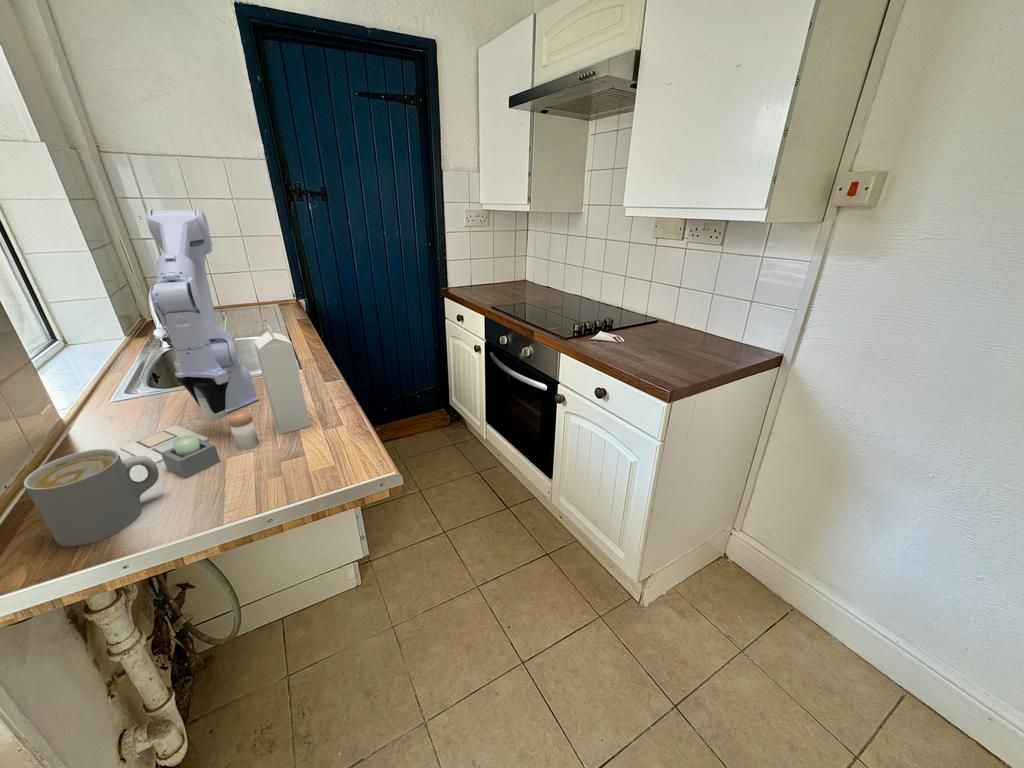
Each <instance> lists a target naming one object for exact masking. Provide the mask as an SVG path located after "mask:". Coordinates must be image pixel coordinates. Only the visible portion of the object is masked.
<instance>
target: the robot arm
mask: <svg viewBox="0 0 1024 768" xmlns="http://www.w3.org/2000/svg"><path fill="white" fill-rule="evenodd" d="M145 219H146V224H147V227H148V230H149V232H150V234H151V236H152V237H153V238H154V240H155V242H156V244H157V245H158V247H159V249H160V250H161V251H162V252H163V254H161V255H159V256H158V258H157V260H156V283H154V286H150V288H149V294H150V300H151V303H152V306H153V307H154V310H155V311H156V313H157V314H158V316H159V319H160V322H161V324H162V325H163V326H165V328H166V330H167V333H168V336H169V339H170V342H171V345H172V347H173V350H174V353H175V356H176V359H177V361H174V362H173V365H174V367H175V370H176V372H174V374H175V377H177V378H176V382H178V383H179V384H180V385H182V386H183V387H184V388H185V389H186V390H187V391H188V393H189V394H190V395H191V397H192V398H193V400H194V401H195V402H196V404H197V405H198V407H200V405H199V402H198V399H197V397H196V394H195V391H194V388H193V387H194V386H195V387H196V388H197V389H198V390H199V391H200V392H201V393H202V394H203V396H204V397H205V399H206V401H207V403H208V405H209V407H210V409H211V410H212V412H213V413H218V412H221V411H223V410H225V411H226V414H229V413H231V412H233V411H236V410H239V409H240V408H243V407H245V406H248V405H250V404H252V403H255V402H257V401H259V399H260V398H259V397H258V396H257V393H256V389H255V386H254V383H253V379H252V377H251V376H252V375H251V373H250V371H249V370H248V369H247V367H246V366H244V365H243V364H241V359H240V357H241V356H240V352H239V349H238V345H237V343H236V340H235V337H234V336H233V334H232V333H230V332H229V331H227V330H226V329H223V328H221V327H219V326H218V323H217V318H216V313H215V309H214V304H213V299H212V295H211V289H210V286H209V285H210V284H209V279H208V276H207V270H206V255H209V254H211V253H212V252H213V248H212V247H213V242H212V237H211V233H210V227H209V223H208V220H207V217H206V214H205V212H204V211H203V210H201V209H200V208H196V209H158V210H157V209H147V211H146V213H145Z"/></svg>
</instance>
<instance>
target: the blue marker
mask: <svg viewBox="0 0 1024 768" xmlns="http://www.w3.org/2000/svg"><path fill="white" fill-rule="evenodd" d="M193 388H194V391H195V394H196V397H197V399H198V402H199V405H200V406H199V405H198V406H199V408H200V410H201V412H202V416H203V419H204V420H205V421H206V422H213V421H217V420H218V421H219V420H220V419H223V418H224V417H227V413H226V411H225V410H223V411H221V412H218V413H213V412H212V410H211V409H210V407H209V405H208V403H207V401H206V399H205V397H204V396H203V394H202V393H201V392H200V391H199V390H198V389H197V388H196V387H195V386H194V387H193Z"/></svg>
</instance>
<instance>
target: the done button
mask: <svg viewBox="0 0 1024 768" xmlns="http://www.w3.org/2000/svg"><path fill="white" fill-rule="evenodd" d="M173 446H174V448H175V451H176V454H177V456H179V457H181V458H183V457H185V456H187V455H189V454H191V453H194V452H196V451H198V450H200V449H201V447H200V444H199V441H198V438H197V436H194V435H190V436H184V437H181V438H179V439H177V440H175V441H174V442H173Z"/></svg>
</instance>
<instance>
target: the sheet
mask: <svg viewBox="0 0 1024 768" xmlns="http://www.w3.org/2000/svg"><path fill="white" fill-rule="evenodd" d="M190 435H194V436H197V438H199V439H201V440H204V441H206V442H208V440H209V438H208V437H206V436H204V435H202V434H201V435H200V434H198V433H196V432H194V431H191V430H189V429H186V428H185V427H181V426H179V425H177V424H176V425H174V426H171V427H168V428H166V429H164V430H160V431H158V432H155V433H152V434H150V435H148V436H145V437H143V438H140V439H138V440H136V441H133V442H131V443H128V444H126V445H122V446H121V447H120V449H121V450H122V451H124V452H126V453H128V454H130V455H131V456H133V457H135V456H146V457H149V458H150V459H152V460H153V461H154V463H155V464H156V465H157V464H158V463H160V462H162V461H164V460H163V457H162V455H161V453H162V452H164V451H166V450H169V449H171V448H173V447H174V446H173V442H174V441H175V440H177V439H179V438H181V437H184V436H190Z"/></svg>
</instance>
